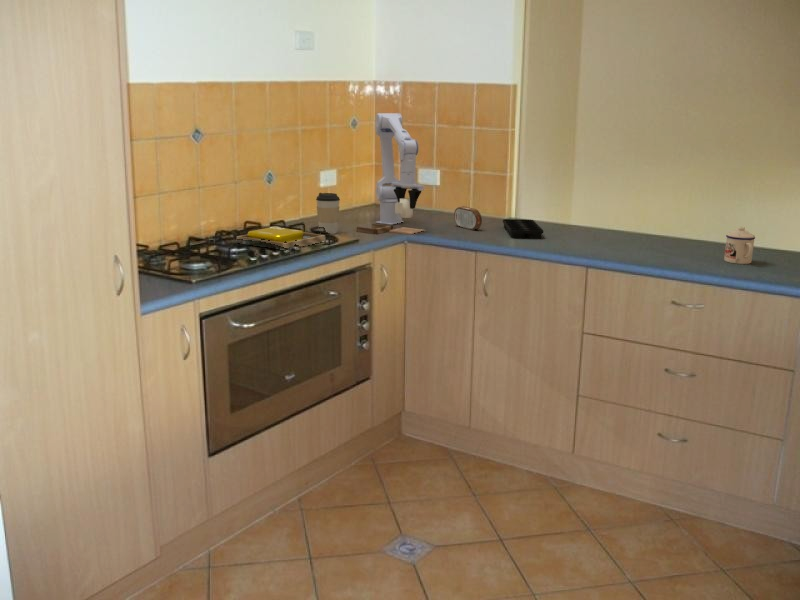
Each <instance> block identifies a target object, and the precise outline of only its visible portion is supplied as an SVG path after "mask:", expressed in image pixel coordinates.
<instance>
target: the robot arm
mask: <svg viewBox="0 0 800 600" xmlns="http://www.w3.org/2000/svg"><path fill="white" fill-rule="evenodd" d="M374 124H375V125H374V126H375V133H376V134H375V135H377V136H378V137H379V142H380V155H381V167H382V172H381V173H382V177H381V178H380V179H379V180H378V181H377V182H376V185H375V186H376V189H375V196H376V199H377V200H378V202H379V212H380V213H379V220H378V221H375V224H382V225H390V226H393V225H398V224H402V223H401V222H403V223H404V222H405V221H403V218H401V217H400V213H399V214H396V213H395V203H399V202H400V198H406V193H408V198H410V209H413V210H414V209H416V205H417V202H418V199H419V197H420V196H421V193H422V191H424V190H425V185H424V184H420V183H416V169H417V168H416V166H417V165H416V164H417V163H416V160H417V155H418V153H419V143H418V142H419V141H418V140H417V139H414V138H412V137H411V135H410V133H409V132H408V130H406V129H404V128H403V116H402V114H401V112H397V113H395V112H394V113H391V112H390V113H389V112H388V113H387V112H386V113H383V112H382V113H381V112H378V113H376V116H375V120H374ZM393 138H394V140H395V142H396V144H397V146H398V154H399V155H398V156H399V157H398V158H399V160H400V170H399V171H400V174H399V176H400V177H399V178H397V177H396V175H395V163H394V162H395V161H394V148H393V147H394V145H393ZM399 179H400V180H399ZM397 223H398V224H397Z"/></svg>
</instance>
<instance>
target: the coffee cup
mask: <svg viewBox="0 0 800 600" xmlns="http://www.w3.org/2000/svg"><path fill="white" fill-rule="evenodd" d="M315 200H316V214H317V222H318V228H319V227H324V228H325V230H326V232H328V233H330V234H329V235H333V234H337V233H338V222H339V215H340V201H341V199H340V197H339V196H338V193H332V192H331V193H330V192H319V193H318V196H316V199H315Z"/></svg>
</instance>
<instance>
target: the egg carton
mask: <svg viewBox="0 0 800 600" xmlns="http://www.w3.org/2000/svg"><path fill="white" fill-rule="evenodd" d="M502 223H503V229H505V231H506V230H507V231H506V232H507V233H508V235H509V236H510V238H511V239H514V240H515V239H517V240H518V239H519V240H520V239H529V240H541V239H542V236H543V234H544V229H543V228H542V227H541V226H540V225H539V224H538V223H537V222H536V221H535V220H534V219H514V218H513V219H512V218H511V219H507V218H505V219H502Z"/></svg>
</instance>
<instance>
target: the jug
mask: <svg viewBox="0 0 800 600" xmlns="http://www.w3.org/2000/svg"><path fill="white" fill-rule="evenodd" d="M413 210H414V209H410V197H405V198H400V202H399V203H395V213H396V214H399V213H400V217H401V218H402V219H410V218H413V217H414V216H413V215H414V214H413V213H414V211H413Z"/></svg>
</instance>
